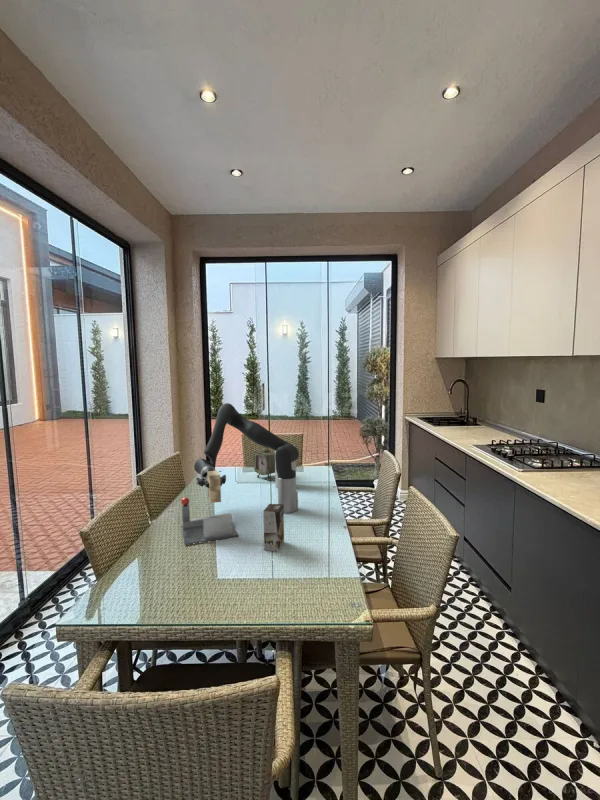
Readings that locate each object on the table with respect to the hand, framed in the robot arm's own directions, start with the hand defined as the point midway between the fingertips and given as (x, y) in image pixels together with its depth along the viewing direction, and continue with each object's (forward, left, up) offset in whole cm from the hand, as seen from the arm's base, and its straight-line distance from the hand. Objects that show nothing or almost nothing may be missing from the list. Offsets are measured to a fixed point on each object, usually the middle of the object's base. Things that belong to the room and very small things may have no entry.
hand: (214, 485), depth 171 cm
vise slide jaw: (+3, -9, -20) cm, 22 cm away
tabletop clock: (-44, -74, -22) cm, 89 cm away
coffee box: (-20, +22, -22) cm, 37 cm away
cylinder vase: (-50, -52, -22) cm, 75 cm away
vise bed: (+3, -2, -21) cm, 22 cm away
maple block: (0, -2, -7) cm, 7 cm away
